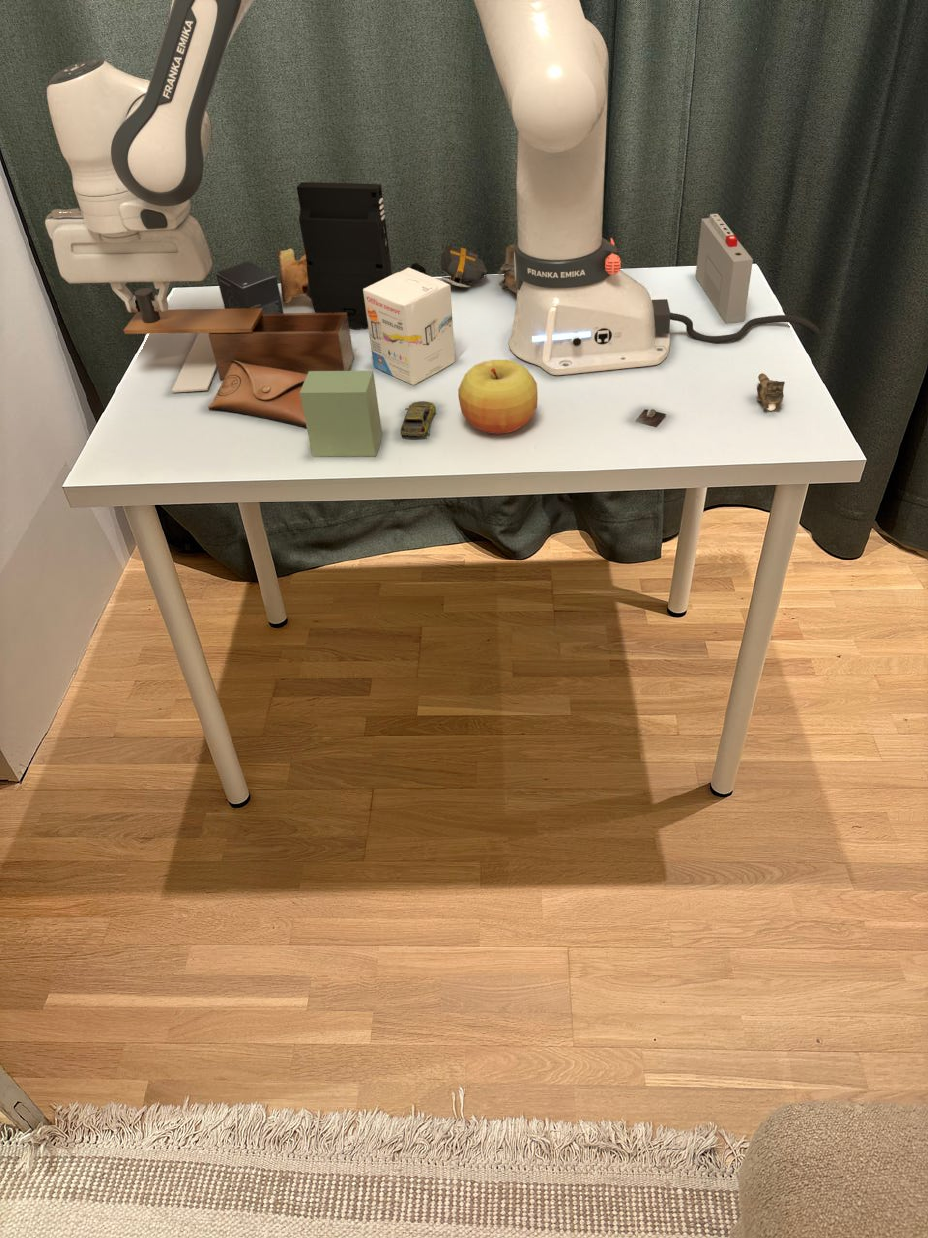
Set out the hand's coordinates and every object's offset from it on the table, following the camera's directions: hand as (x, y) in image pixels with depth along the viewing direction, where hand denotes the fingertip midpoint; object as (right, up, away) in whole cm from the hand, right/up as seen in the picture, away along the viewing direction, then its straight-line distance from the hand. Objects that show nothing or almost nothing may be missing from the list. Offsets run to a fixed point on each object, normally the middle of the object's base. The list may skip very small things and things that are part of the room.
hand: (149, 310), depth 131 cm
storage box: (+18, -7, +4) cm, 20 cm away
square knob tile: (+67, -17, -11) cm, 70 cm away
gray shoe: (+44, +16, +20) cm, 51 cm away
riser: (+29, -20, -11) cm, 37 cm away
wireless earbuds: (+33, +12, +20) cm, 40 cm away
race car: (+37, -17, -8) cm, 42 cm away
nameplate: (+6, -4, +9) cm, 11 cm away
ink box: (+36, -7, +3) cm, 37 cm away
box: (+13, -1, +11) cm, 17 cm away
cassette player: (+81, +5, +12) cm, 82 cm away
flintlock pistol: (+59, +12, +19) cm, 63 cm away
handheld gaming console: (+27, +2, +13) cm, 30 cm away
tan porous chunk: (+14, +11, +18) cm, 25 cm away
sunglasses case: (+18, -14, -3) cm, 23 cm away
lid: (+6, -2, +1) cm, 6 cm away
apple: (+48, -17, -9) cm, 52 cm away
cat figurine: (+81, -15, -10) cm, 83 cm away
